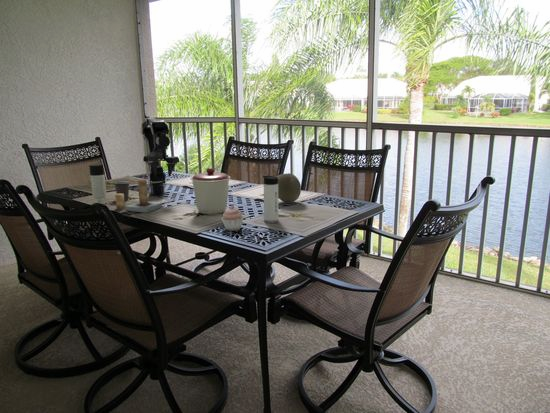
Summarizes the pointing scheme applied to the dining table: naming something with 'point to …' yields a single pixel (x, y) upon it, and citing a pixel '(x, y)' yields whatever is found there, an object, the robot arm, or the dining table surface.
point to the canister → (211, 191)
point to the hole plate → (143, 207)
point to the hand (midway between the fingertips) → (162, 175)
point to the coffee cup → (122, 188)
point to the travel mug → (270, 199)
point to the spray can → (98, 183)
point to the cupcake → (232, 218)
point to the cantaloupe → (288, 187)
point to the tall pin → (143, 192)
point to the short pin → (120, 201)
